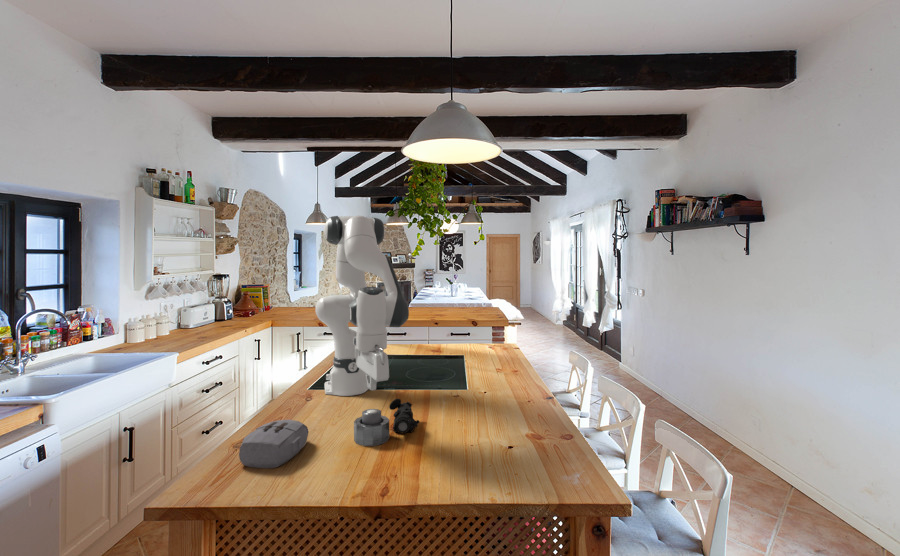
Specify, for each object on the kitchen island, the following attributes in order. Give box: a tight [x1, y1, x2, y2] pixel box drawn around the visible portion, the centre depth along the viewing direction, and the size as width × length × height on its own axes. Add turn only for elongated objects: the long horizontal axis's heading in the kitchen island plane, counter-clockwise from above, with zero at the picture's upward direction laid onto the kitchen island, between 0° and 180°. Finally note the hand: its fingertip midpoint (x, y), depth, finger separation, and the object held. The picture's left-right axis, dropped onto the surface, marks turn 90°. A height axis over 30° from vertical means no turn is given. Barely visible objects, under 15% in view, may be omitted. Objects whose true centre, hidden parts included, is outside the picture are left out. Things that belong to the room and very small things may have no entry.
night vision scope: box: [388, 398, 420, 434], centre depth 140 cm, size 8×18×10 cm
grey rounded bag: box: [238, 419, 309, 469], centre depth 123 cm, size 15×8×20 cm
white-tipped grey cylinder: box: [361, 408, 382, 425], centre depth 132 cm, size 6×6×5 cm
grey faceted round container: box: [353, 414, 390, 447], centre depth 132 cm, size 10×10×6 cm
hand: (371, 389), depth 131 cm, fingers closed
